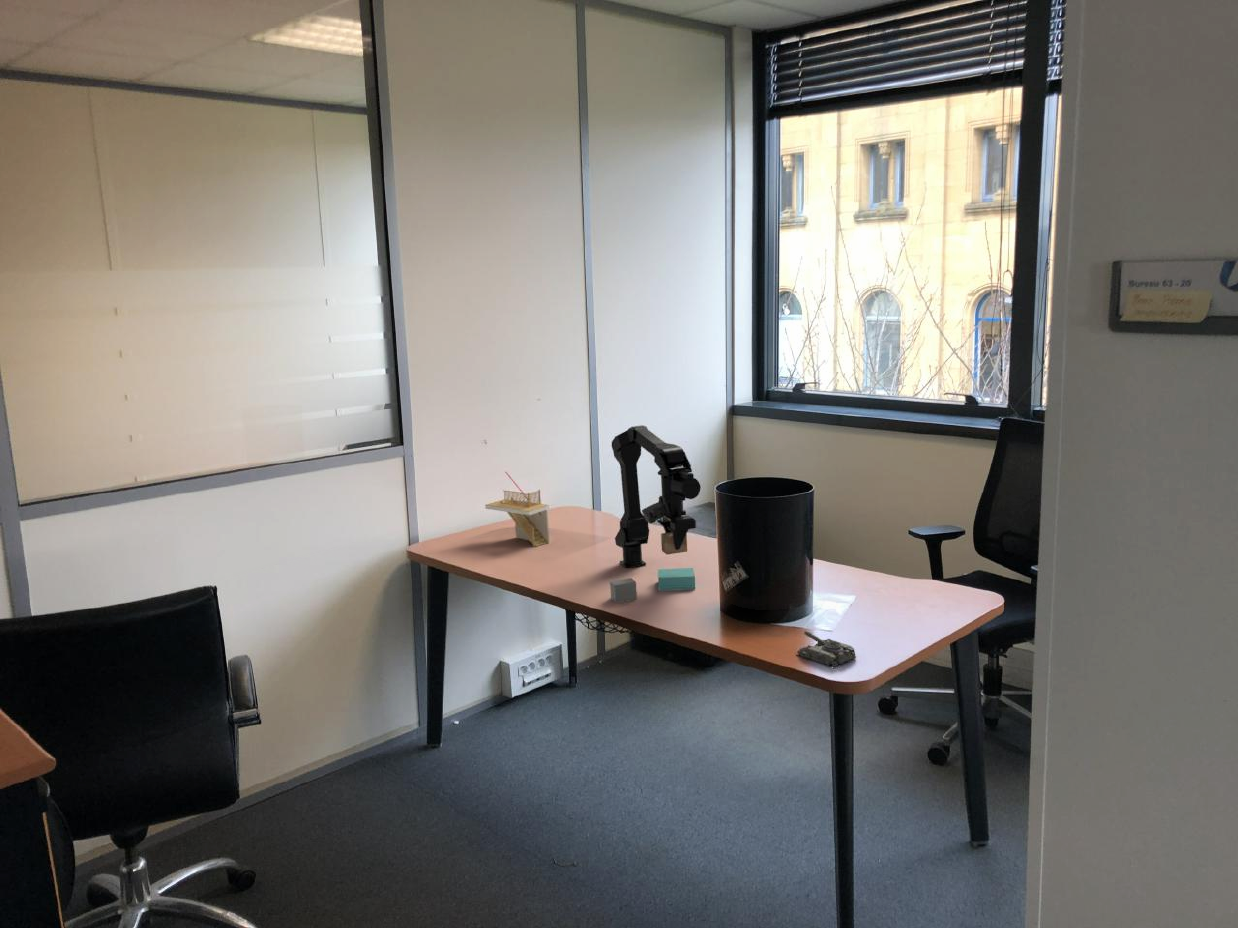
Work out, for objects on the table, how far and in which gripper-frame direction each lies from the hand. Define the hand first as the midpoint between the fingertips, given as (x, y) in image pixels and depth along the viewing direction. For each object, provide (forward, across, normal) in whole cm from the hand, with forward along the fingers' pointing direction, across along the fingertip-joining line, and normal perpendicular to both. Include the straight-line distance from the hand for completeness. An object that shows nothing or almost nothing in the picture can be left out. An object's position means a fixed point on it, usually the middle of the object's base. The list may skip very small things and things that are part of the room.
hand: (674, 547), depth 267 cm
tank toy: (+12, +62, +10) cm, 64 cm away
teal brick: (+11, 0, 0) cm, 11 cm away
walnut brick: (+1, 0, 0) cm, 1 cm away
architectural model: (+12, -66, -27) cm, 72 cm away
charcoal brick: (+11, +4, -17) cm, 21 cm away
